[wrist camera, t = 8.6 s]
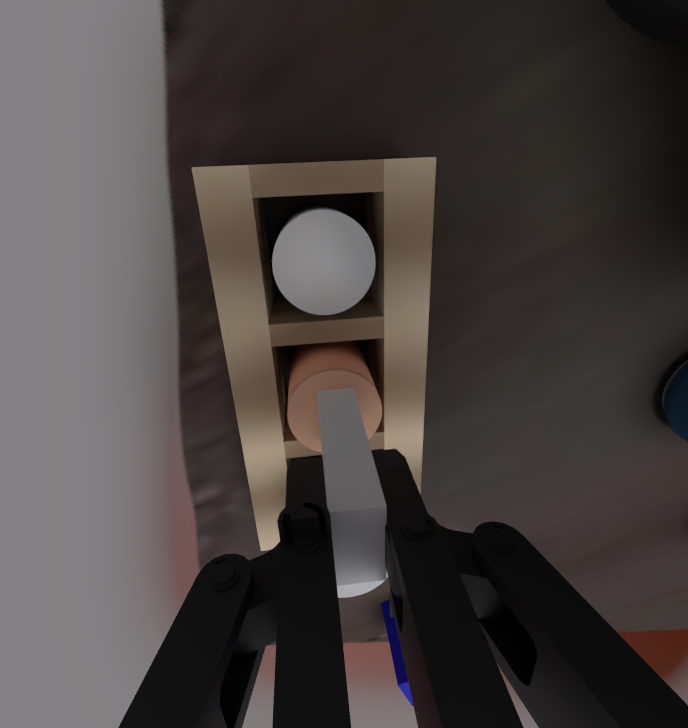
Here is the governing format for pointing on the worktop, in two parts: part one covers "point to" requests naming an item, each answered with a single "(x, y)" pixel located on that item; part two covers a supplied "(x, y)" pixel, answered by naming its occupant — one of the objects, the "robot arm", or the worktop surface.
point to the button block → (295, 327)
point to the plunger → (323, 260)
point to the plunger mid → (328, 387)
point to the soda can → (677, 401)
